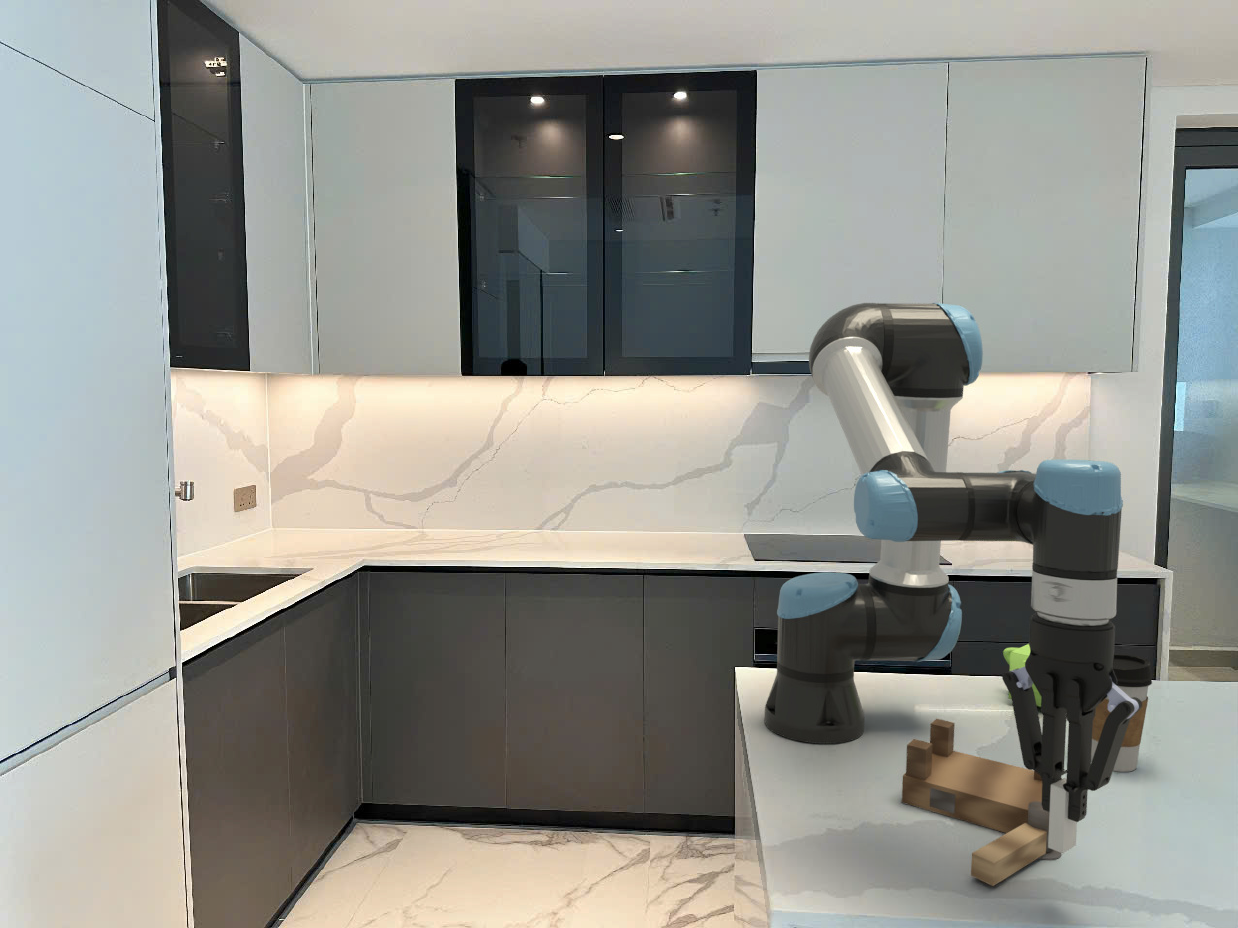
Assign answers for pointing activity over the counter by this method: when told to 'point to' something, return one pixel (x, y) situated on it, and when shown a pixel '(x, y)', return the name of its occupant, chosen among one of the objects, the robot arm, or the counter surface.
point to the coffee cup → (1134, 683)
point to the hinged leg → (1013, 848)
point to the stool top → (968, 784)
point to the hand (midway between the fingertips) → (1062, 846)
